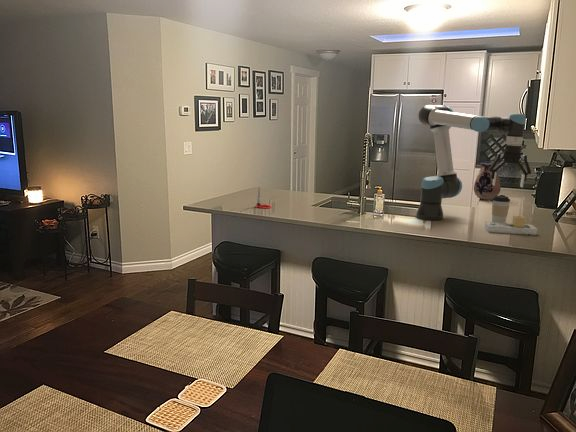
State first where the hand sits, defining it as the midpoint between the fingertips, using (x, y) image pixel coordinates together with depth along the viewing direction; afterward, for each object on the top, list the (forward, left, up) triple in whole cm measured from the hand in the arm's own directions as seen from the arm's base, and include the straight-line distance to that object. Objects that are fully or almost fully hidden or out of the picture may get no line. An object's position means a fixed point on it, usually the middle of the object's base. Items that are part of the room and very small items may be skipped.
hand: (507, 186), depth 249 cm
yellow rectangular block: (+6, -5, -23) cm, 24 cm away
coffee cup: (+1, +15, -23) cm, 27 cm away
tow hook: (-135, +19, -23) cm, 138 cm away
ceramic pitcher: (+9, +94, -23) cm, 97 cm away
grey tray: (+3, -5, -23) cm, 23 cm away
